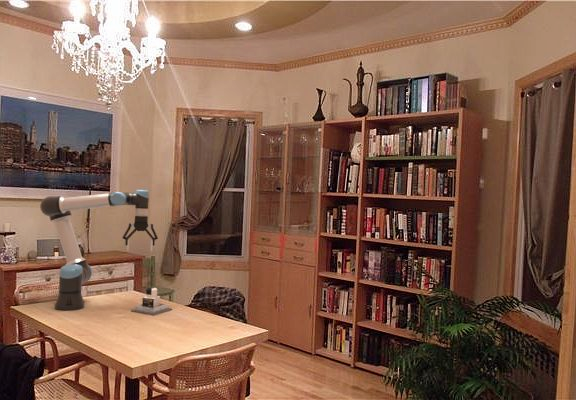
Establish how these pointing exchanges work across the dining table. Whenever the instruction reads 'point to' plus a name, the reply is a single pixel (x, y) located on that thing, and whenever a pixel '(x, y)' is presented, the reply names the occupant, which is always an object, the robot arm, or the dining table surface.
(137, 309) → the square holder
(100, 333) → the dining table surface
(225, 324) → the dining table surface
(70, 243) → the robot arm
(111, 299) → the dining table surface
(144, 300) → the medicine bottle
